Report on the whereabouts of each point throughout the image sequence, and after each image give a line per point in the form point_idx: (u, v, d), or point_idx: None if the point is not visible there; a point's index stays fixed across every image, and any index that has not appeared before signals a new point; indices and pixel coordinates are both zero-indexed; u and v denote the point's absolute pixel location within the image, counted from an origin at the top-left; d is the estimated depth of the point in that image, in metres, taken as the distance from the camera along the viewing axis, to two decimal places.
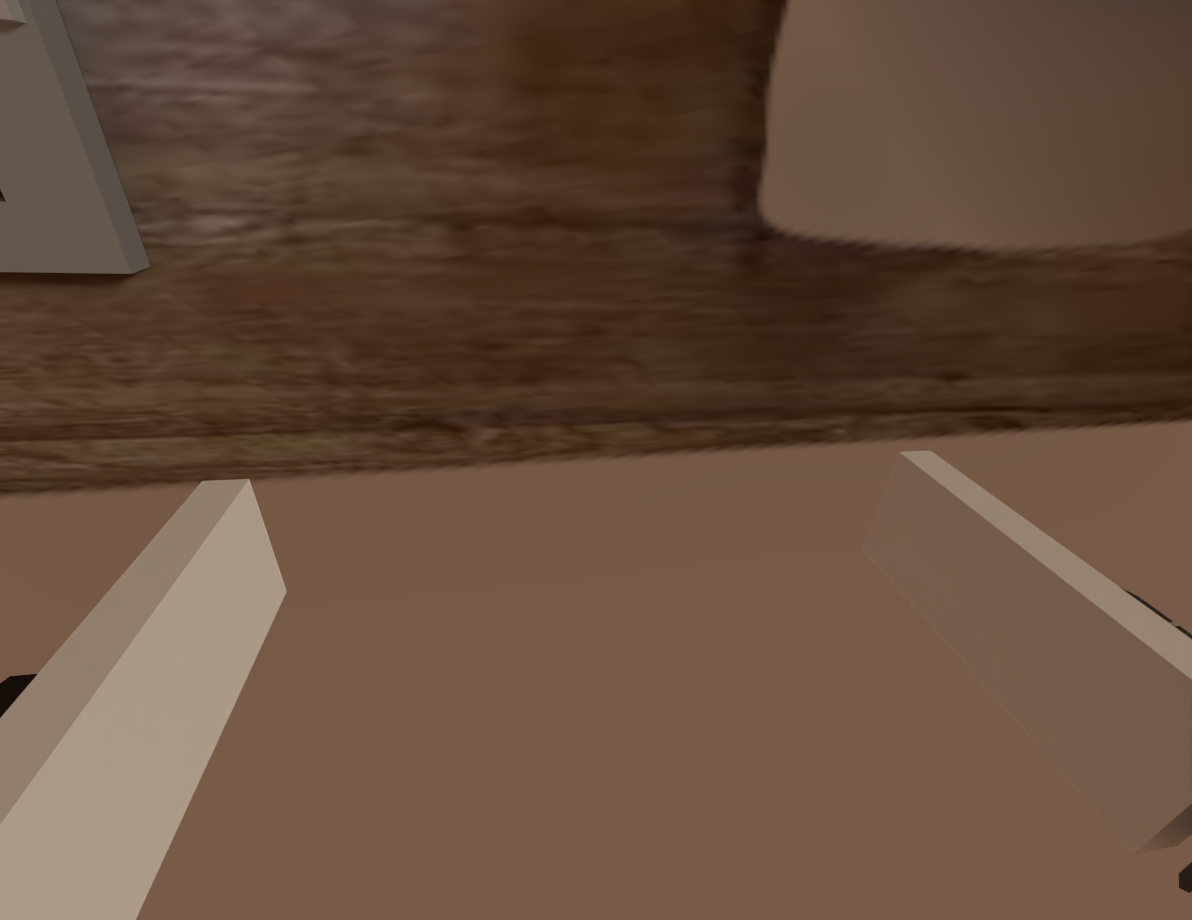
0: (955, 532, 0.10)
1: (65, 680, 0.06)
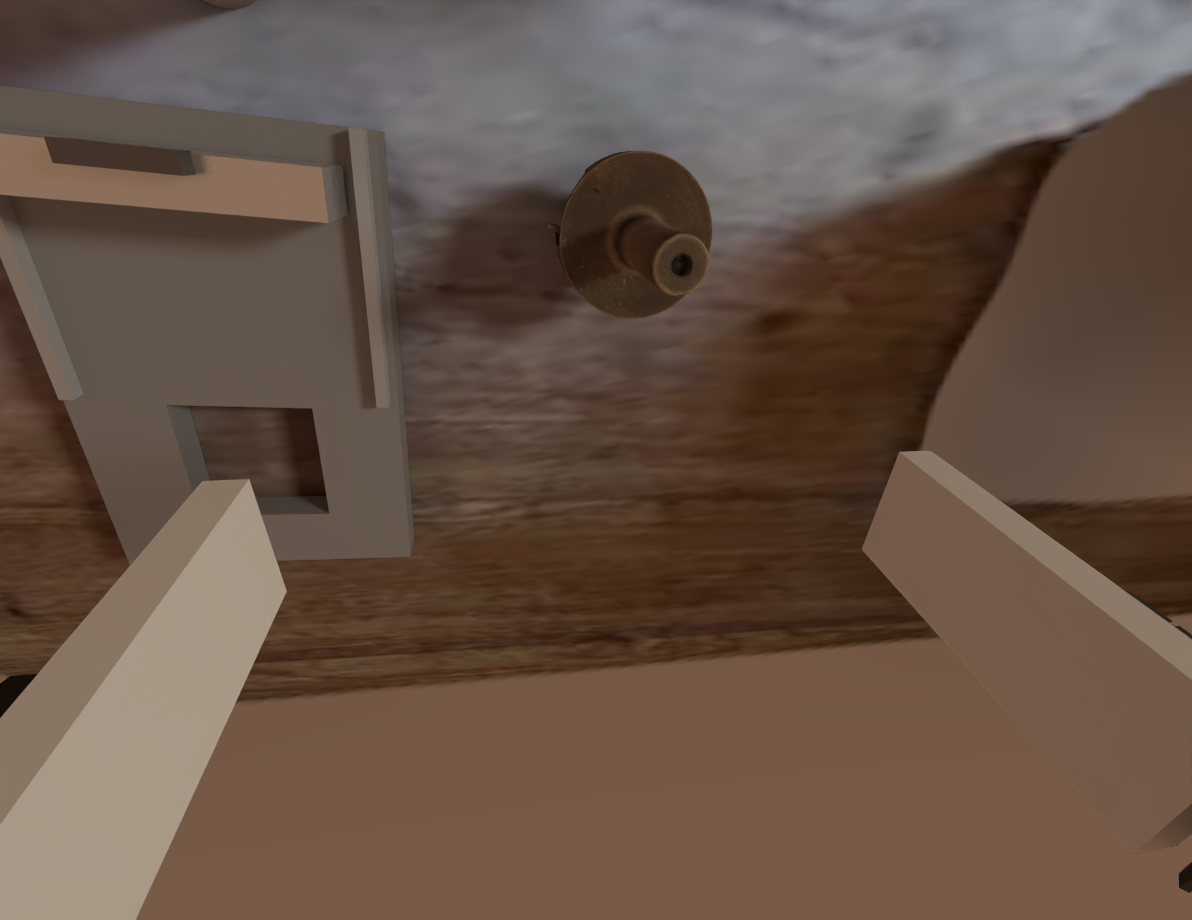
0: (954, 532, 0.10)
1: (66, 680, 0.06)
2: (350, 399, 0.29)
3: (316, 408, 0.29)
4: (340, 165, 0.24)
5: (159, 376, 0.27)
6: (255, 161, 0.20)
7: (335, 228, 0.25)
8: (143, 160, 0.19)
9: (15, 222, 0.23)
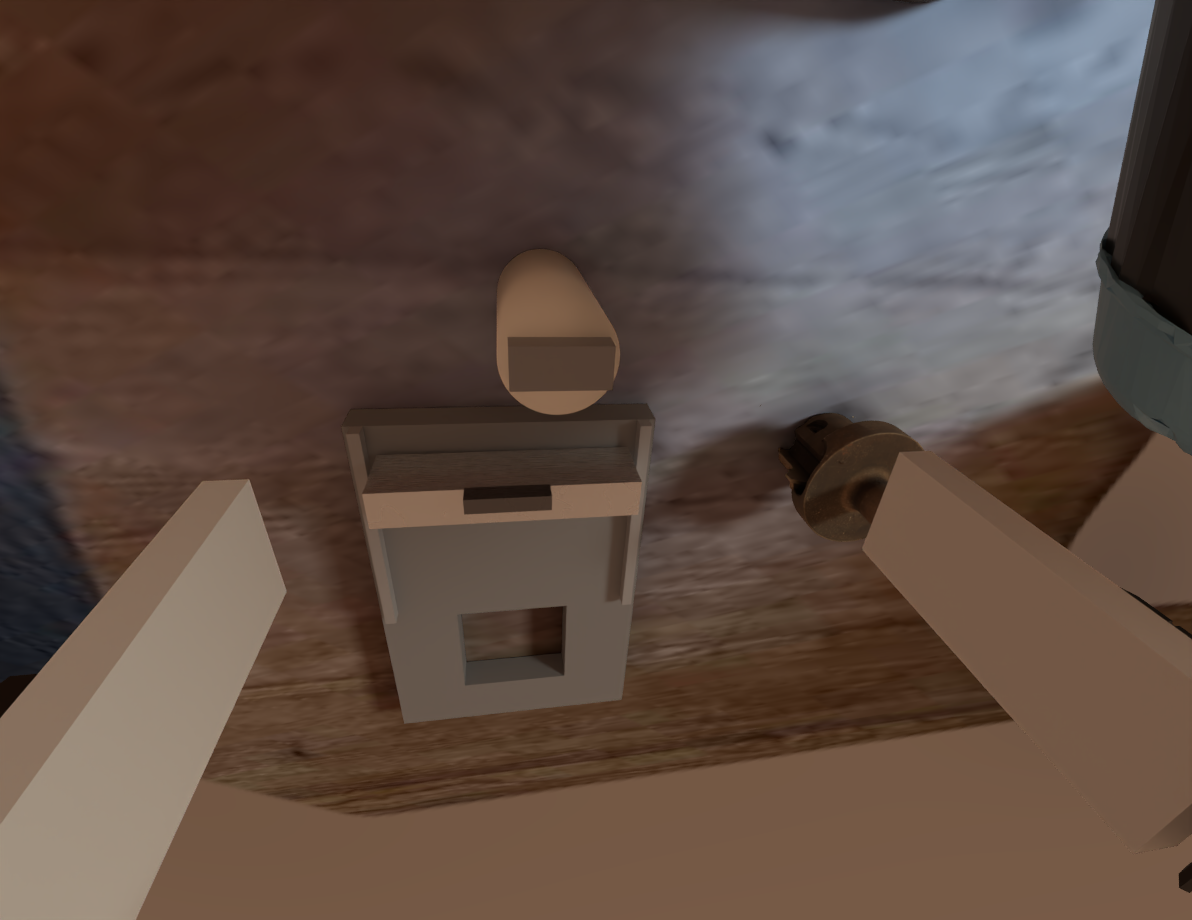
0: (955, 532, 0.10)
1: (65, 680, 0.06)
2: (597, 596, 0.35)
3: (569, 605, 0.35)
4: (626, 447, 0.29)
5: (456, 596, 0.33)
6: (595, 484, 0.26)
7: None
8: (526, 505, 0.25)
9: None
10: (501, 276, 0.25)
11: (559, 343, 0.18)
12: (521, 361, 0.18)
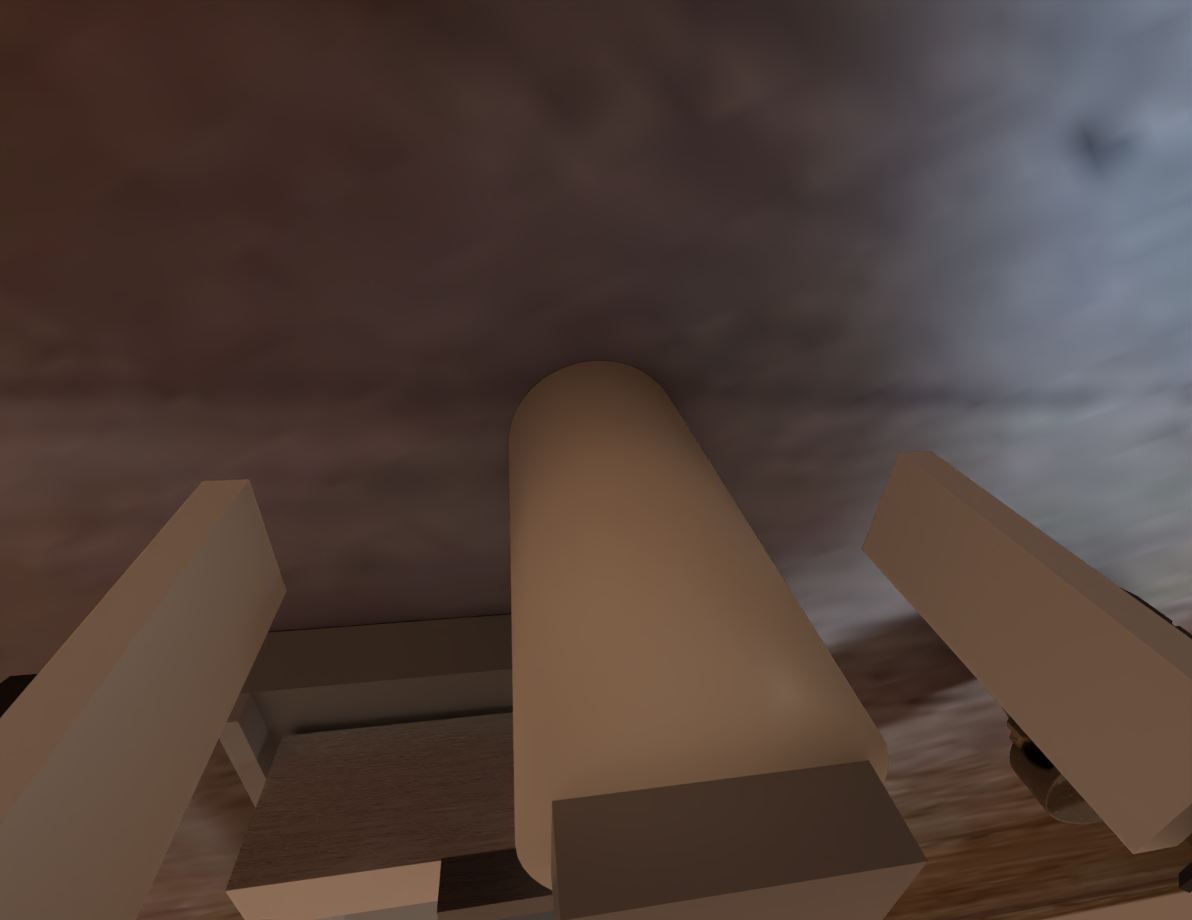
0: (954, 532, 0.10)
1: (65, 680, 0.06)
2: None
3: None
4: None
5: None
6: None
7: None
8: None
9: None
10: (519, 420, 0.12)
11: (733, 851, 0.05)
12: None
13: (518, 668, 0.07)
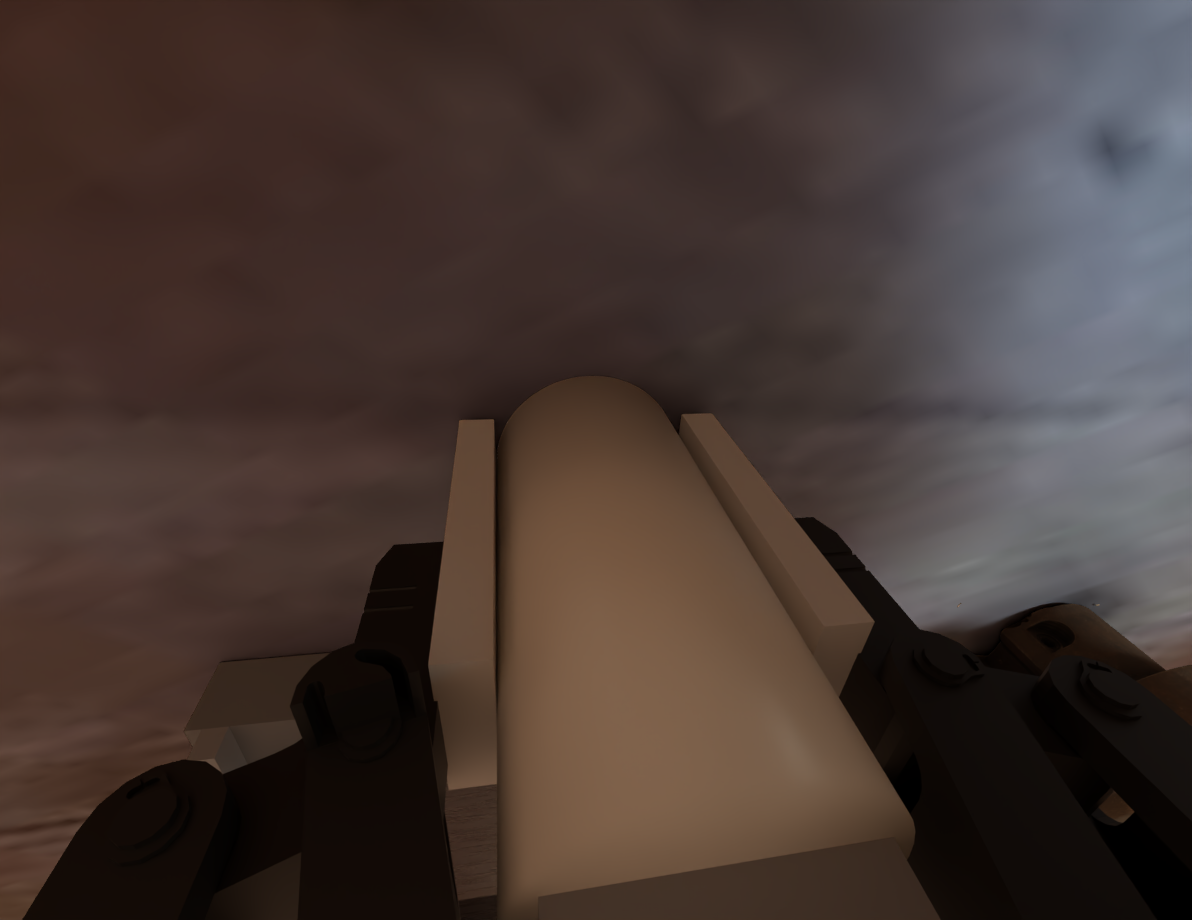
0: None
1: (467, 535, 0.08)
2: None
3: None
4: None
5: None
6: None
7: None
8: None
9: None
10: (506, 439, 0.12)
11: None
12: None
13: (502, 727, 0.06)
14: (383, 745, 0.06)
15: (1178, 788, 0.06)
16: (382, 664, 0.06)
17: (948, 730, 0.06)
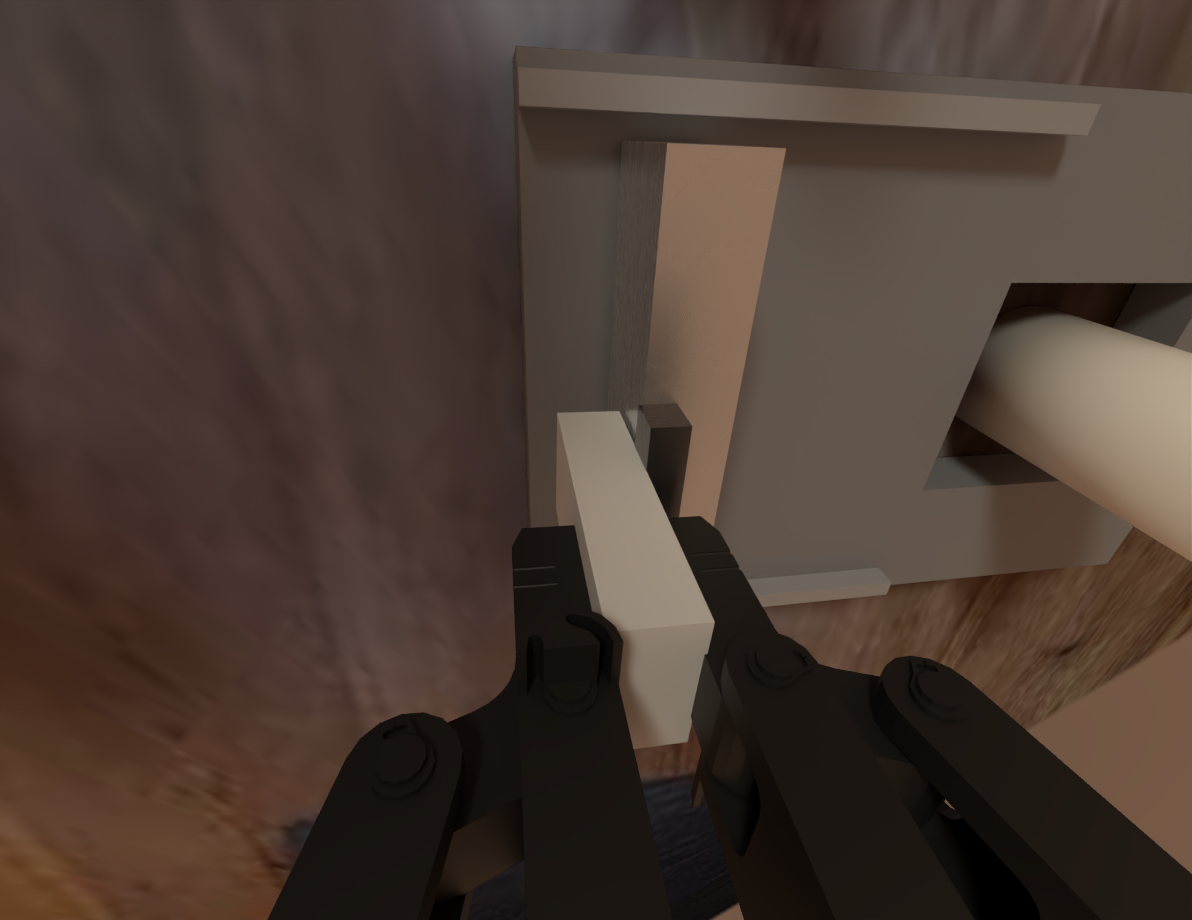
0: None
1: (601, 518, 0.09)
2: (1026, 202, 0.14)
3: (1014, 275, 0.15)
4: (622, 144, 0.11)
5: (882, 490, 0.18)
6: (655, 294, 0.10)
7: None
8: (667, 479, 0.11)
9: None
10: None
11: None
12: None
13: None
14: (584, 704, 0.06)
15: (1002, 795, 0.05)
16: None
17: (778, 740, 0.06)
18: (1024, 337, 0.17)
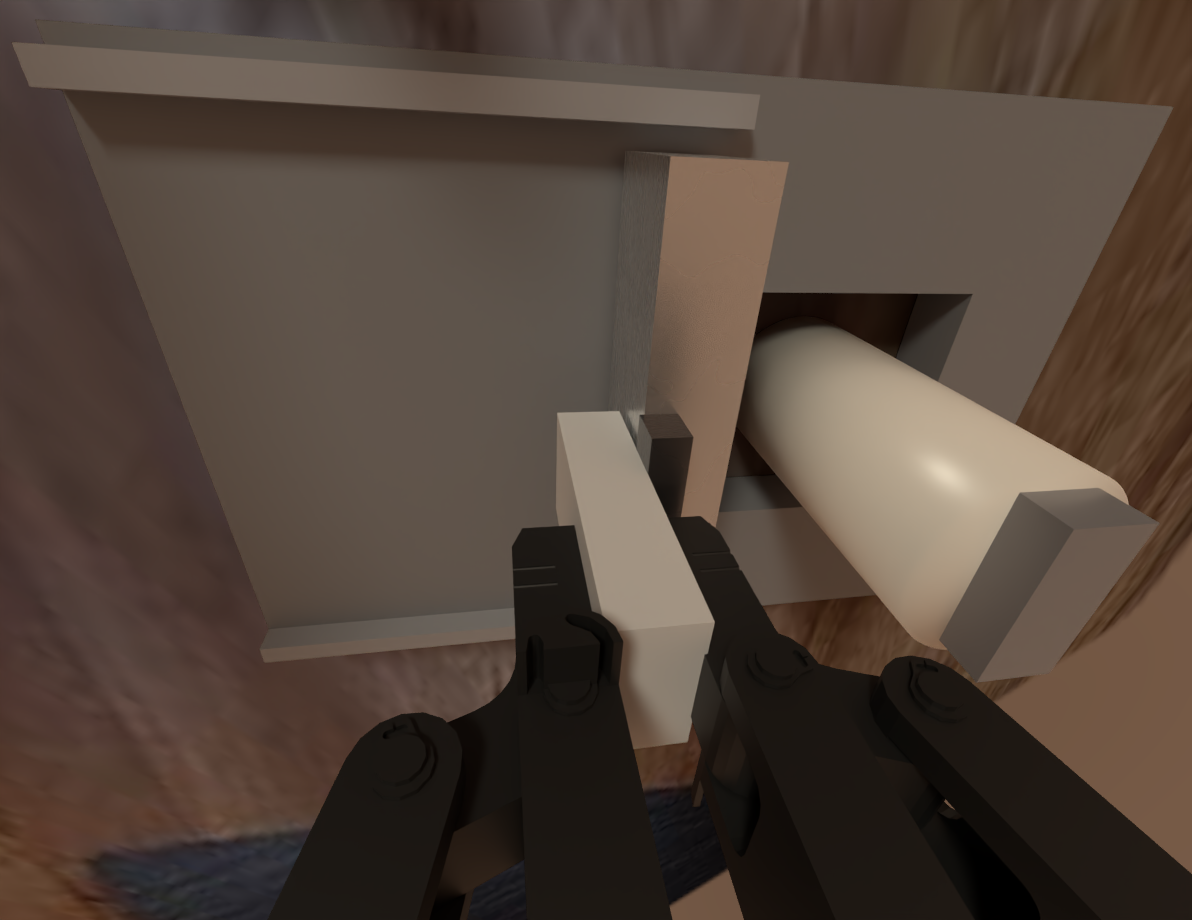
0: None
1: (601, 518, 0.09)
2: None
3: None
4: (625, 154, 0.11)
5: None
6: (657, 305, 0.10)
7: (323, 174, 0.11)
8: (668, 490, 0.11)
9: (433, 617, 0.18)
10: None
11: (1002, 603, 0.09)
12: (1010, 664, 0.10)
13: None
14: (584, 704, 0.06)
15: (1003, 795, 0.05)
16: None
17: (779, 740, 0.06)
18: (777, 351, 0.15)
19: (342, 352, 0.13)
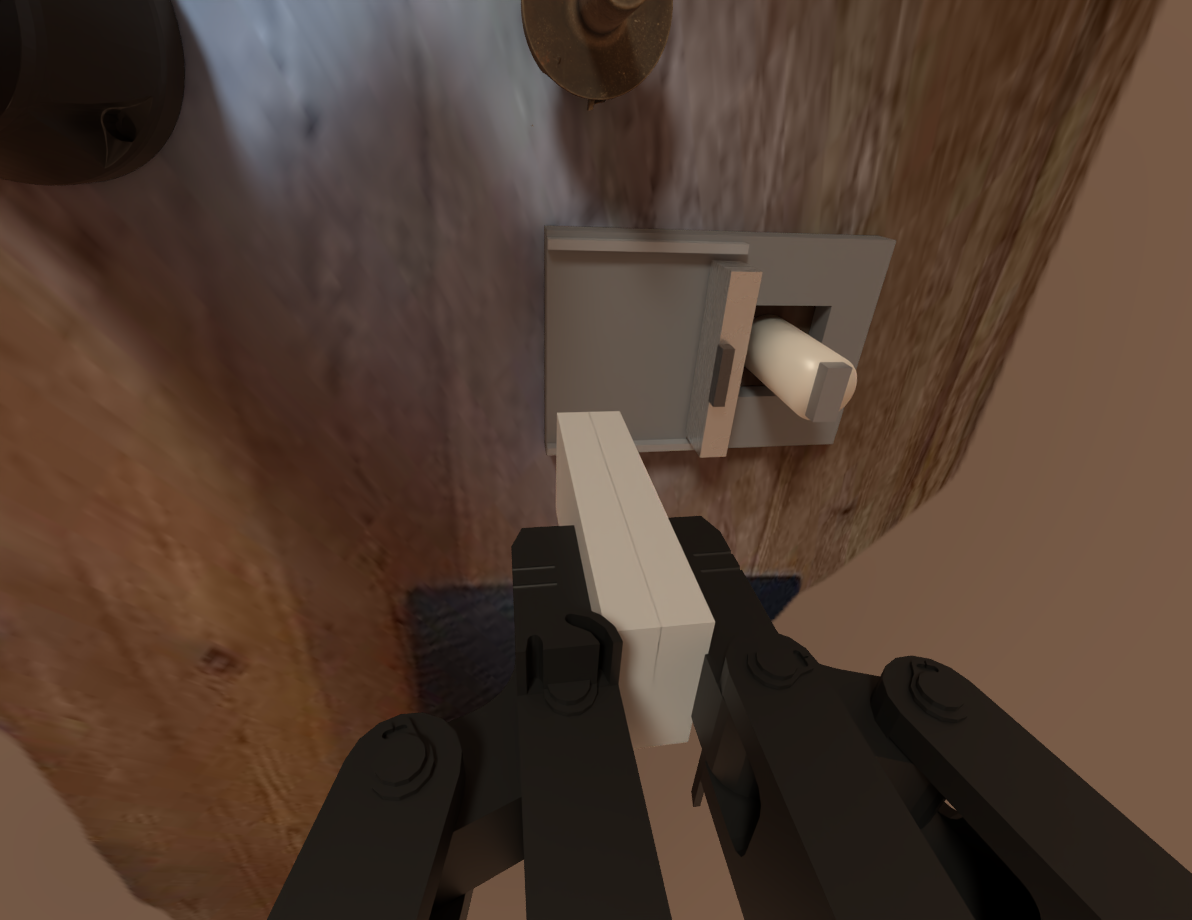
0: None
1: (601, 518, 0.09)
2: None
3: None
4: None
5: None
6: (725, 310, 0.33)
7: (611, 268, 0.35)
8: (726, 366, 0.34)
9: None
10: None
11: (817, 395, 0.33)
12: (821, 415, 0.34)
13: None
14: (583, 704, 0.06)
15: (1003, 795, 0.05)
16: None
17: (779, 740, 0.06)
18: (757, 327, 0.39)
19: (603, 326, 0.37)
